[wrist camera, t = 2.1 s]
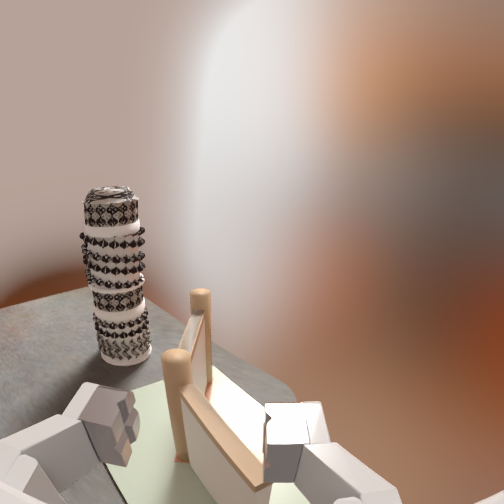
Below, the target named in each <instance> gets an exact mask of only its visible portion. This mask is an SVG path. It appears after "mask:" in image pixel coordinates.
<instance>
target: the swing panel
mask: <svg viewBox="0 0 504 504" xmlns="http://www.w3.org/2000/svg"><path fill="white" fill-rule="evenodd" d="M178 392H179V396H180V399H181V407H182V414H183V422H184V429H185V436H186V442H187V449H188V455H189V461H190V466H191V467H192V469H193V470H194V472H195V473H196V475H197V476H198V478H199V479H200V481H201V482H202V484H203V485H204V486H205V488H206V489H207V491H208V492H209V493H210V495H211V496H212V498H213V499H214V500H215V502H216V503H217V504H269V501H270V495H271V490H272V484H273V483H263V464H262V463H261V462H260V460H259V459H258V458H257V457H256V456H255V455H254V454H253V453H252V452H251V451H250V449H249V448H248V447H247V446H246V445H245V444H244V443H243V442H242V441H241V439H240V438H239V437H238V436H237V435H236V434H235V432H234V431H233V430H232V429H231V428H230V427H229V425H228V424H227V423H226V422H225V421H224V420H223V418H222V417H221V416H220V415H219V413H218V412H217V411H216V410H215V409H214V407H213V406H212V405H211V404H210V402H209V401H208V400H207V399H206V397H205V396H204V395H203V394H202V392H201V391H200V390H199V388H198V387H197V386H196V385H195V383H191V384H188V385H184V386H181V387H178Z"/></svg>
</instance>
